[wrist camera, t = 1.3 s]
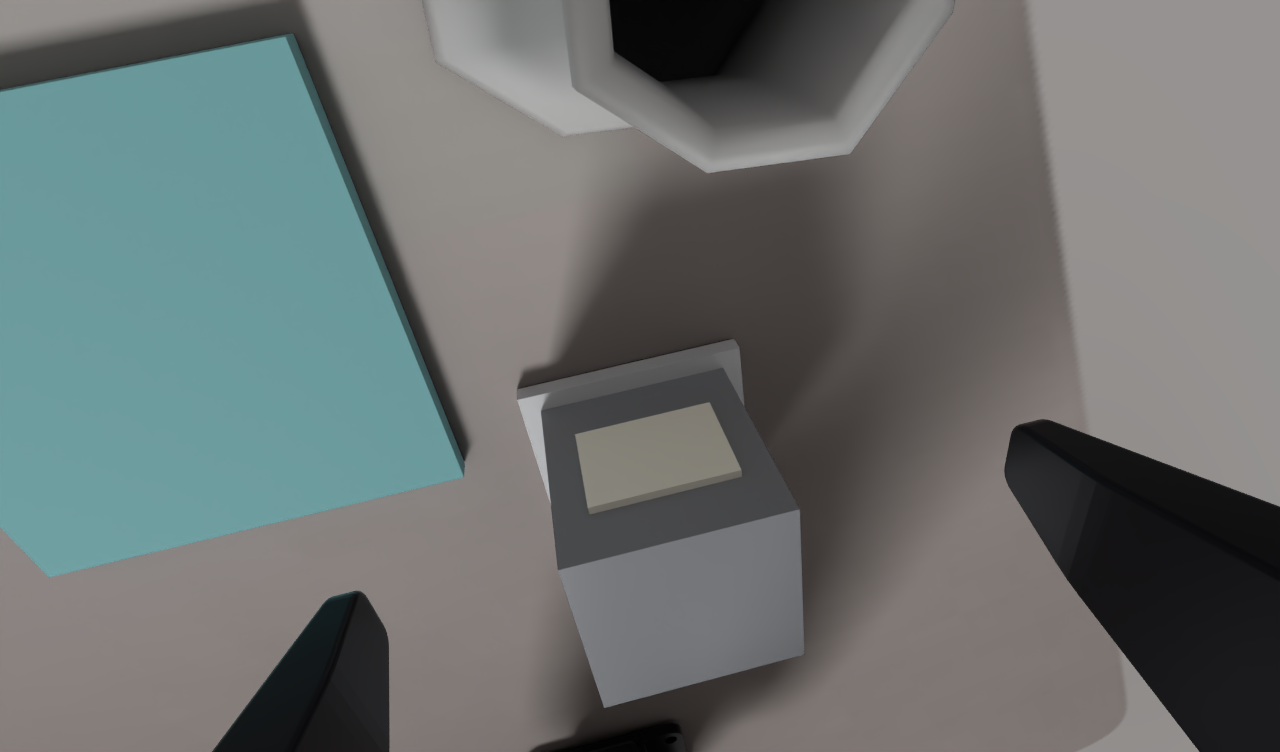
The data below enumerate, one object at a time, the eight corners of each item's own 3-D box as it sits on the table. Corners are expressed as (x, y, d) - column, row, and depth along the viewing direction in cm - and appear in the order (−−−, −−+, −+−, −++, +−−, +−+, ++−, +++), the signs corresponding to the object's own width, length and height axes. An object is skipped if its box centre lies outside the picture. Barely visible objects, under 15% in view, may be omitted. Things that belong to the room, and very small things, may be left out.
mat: (464, 463, 19) (464, 477, 19) (61, 560, 18) (48, 577, 18) (293, 32, 13) (285, 37, 12) (-324, 152, 12) (-358, 161, 12)
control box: (748, 496, 22) (824, 661, 17) (565, 542, 21) (587, 724, 17) (734, 338, 19) (823, 485, 14) (516, 389, 18) (527, 559, 13)
